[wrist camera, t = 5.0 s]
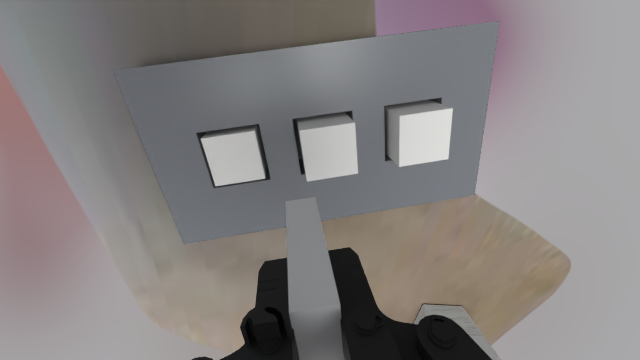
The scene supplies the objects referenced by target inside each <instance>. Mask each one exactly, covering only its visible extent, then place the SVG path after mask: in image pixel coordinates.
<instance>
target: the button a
mask: <svg viewBox="0 0 640 360" xmlns="http://www.w3.org/2000/svg"><path fill="white" fill-rule="evenodd" d="M201 141H202V144H203V148H204V151H205V154H206V157H207V160H208V164H209V167H210V170H211V173H212V176H213V180H214V183H215V186H221V185H228V184H234V183H240V182H247V181H253V180H259V179H265V177H266V169H267V159H266V155H265V150H264V145H263V141H262V136H261V131H260V127H259V124H255V125H248V126H241V127H234V128H227V129H220V130H213V131H207V132H206V133H205V134H204V136H203V137H202V138H201Z"/></svg>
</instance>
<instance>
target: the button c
mask: <svg viewBox="0 0 640 360" xmlns="http://www.w3.org/2000/svg"><path fill="white" fill-rule="evenodd" d="M452 113H453V108H451V107H448V106H445V105H442V104H439V103H437V102H434V101H431V100H421V101H414V102H407V103H400V104H393V105H386V106H384V128H385V153H386V154H387V155H388V156H389V157H390V158H391V159H392V160H393V161H394V162H395V163H396V164H397V165H398V166H399V167H402V166H408V165H415V164H421V163H427V162H434V161H440V160H446V159H448V157H449V146H450V135H451V124H452Z"/></svg>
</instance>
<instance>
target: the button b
mask: <svg viewBox="0 0 640 360" xmlns="http://www.w3.org/2000/svg"><path fill="white" fill-rule="evenodd" d="M296 119H297V125H298V132H299V138H300V145H301V151H302V158H303V164H304V169H305V174H306V179H307V182H308V181H314V180H321V179H327V178H333V177H339V176H346V175H352V174H358V162H357V146H356V129H355V122H354V121H353V120H352V119H351V118H350V117H349V116H348V115H347V114H346V113H345V112H338V113H331V114H324V115H317V116H310V117H303V118H296Z"/></svg>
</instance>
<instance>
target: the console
mask: <svg viewBox="0 0 640 360" xmlns="http://www.w3.org/2000/svg"><path fill="white" fill-rule="evenodd" d="M498 29H499V21H495V22H487V23H479V24H472V25H464V26H456V27H448V28H440V29H432V30H425V31H417V32H409V33H401V34H394V35H386V36H378V37H370V38H362V39H354V40H346V41H338V42H331V43H323V44H315V45H307V46H299V47H292V48H284V49H276V50H268V51H260V52H252V53H245V54H237V55H229V56H221V57H213V58H205V59H198V60H190V61H182V62H174V63H166V64H159V65H151V66H143V67H135V68H127V69H119V70H112V71H113V73H114V76H115V78H116V81H117V83H118V86H119V88H120V91H121V93H122V95H123V98H124V100H125V103H126V105H127V108H128V110H129V112H130V115H131V117H132V120H133V122H134V125H135V127H136V129H137V132H138V134H139V137H140V139H141V142H142V144H143V146H144V149H145V151H146V154H147V156H148V159H149V161H150V163H151V166H152V168H153V171H154V173H155V176H156V178H157V181H158V183H159V185H160V188H161V190H162V193H163V195H164V198H165V200H166V202H167V205H168V207H169V210H170V212H171V215H172V217H173V219H174V222H175V224H176V227H177V229H178V232H179V234H180V236H181V239H182V241H183V244H187V243H193V242H199V241H205V240H211V239H217V238H223V237H229V236H235V235H241V234H247V233H252V232H258V231H264V230H270V229H276V228H282V227H286V201H291V200H298V199H305V198H312V197H315V198H316V202H317V206H318V211H319V215H320V219H321V221H323V220H329V219H335V218H341V217H347V216H353V215H359V214H365V213H371V212H377V211H383V210H388V209H394V208H400V207H406V206H412V205H418V204H424V203H430V202H436V201H442V200H448V199H454V198H459V197H465V196H471V195H475V188H476V181H477V174H478V167H479V160H480V153H481V147H482V140H483V133H484V126H485V119H486V112H487V105H488V98H489V91H490V84H491V77H492V71H493V64H494V57H495V50H496V43H497V36H498ZM421 100H431V101H434V102H437V103H439V104H442V105H445V106H448V107H451V108H453V113H452V124H451V135H450V146H449V157H448V159H446V160H440V161H434V162H427V163H421V164H415V165H408V166H402V167H399V166H398V165H397V164H396V163H395V162H394V161H393V160H392V159H391V158H390V157H389V156H388V155H387V154H386V153H385V128H384V106H386V105H393V104H400V103H407V102H414V101H421ZM338 112H345V113H346V114H347V115H348V116H349V117H350V118H351V119H352V120H353V121H354V122H355V129H356V146H357V162H358V174H352V175H346V176H339V177H333V178H327V179H321V180H314V181H308V182H307V179H306V174H305V169H304V164H303V158H302V151H301V145H300V138H299V132H298V125H297V119H296V118H303V117H310V116H317V115H324V114H331V113H338ZM255 124H259V127H260V131H261V136H262V141H263V145H264V150H265V155H266V159H267V169H266V177H265V179H259V180H253V181H247V182H240V183H234V184H228V185H221V186H215V183H214V180H213V176H212V173H211V170H210V167H209V164H208V160H207V157H206V154H205V151H204V148H203V144H202V141H201V138H202V137H203V136H204V134H205V133H206V132H207V131H213V130H220V129H227V128H234V127H241V126H248V125H255Z"/></svg>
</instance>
